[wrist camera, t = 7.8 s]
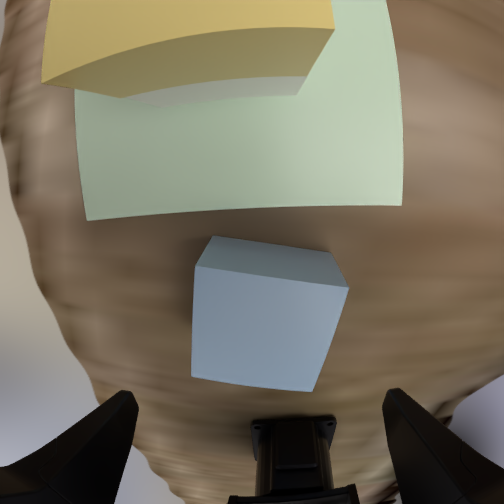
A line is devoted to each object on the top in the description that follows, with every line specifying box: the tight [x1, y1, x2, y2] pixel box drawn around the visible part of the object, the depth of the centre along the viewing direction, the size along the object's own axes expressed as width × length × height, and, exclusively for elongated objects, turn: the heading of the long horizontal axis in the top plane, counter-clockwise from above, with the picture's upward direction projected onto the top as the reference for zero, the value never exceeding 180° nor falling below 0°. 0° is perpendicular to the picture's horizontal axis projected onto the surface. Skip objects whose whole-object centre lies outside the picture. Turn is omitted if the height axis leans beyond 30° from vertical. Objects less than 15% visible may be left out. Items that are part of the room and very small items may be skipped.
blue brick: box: [191, 235, 349, 392], centre depth 14 cm, size 6×6×4 cm
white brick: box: [125, 74, 309, 108], centre depth 8 cm, size 6×6×4 cm
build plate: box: [75, 0, 403, 221], centre depth 11 cm, size 16×16×1 cm
